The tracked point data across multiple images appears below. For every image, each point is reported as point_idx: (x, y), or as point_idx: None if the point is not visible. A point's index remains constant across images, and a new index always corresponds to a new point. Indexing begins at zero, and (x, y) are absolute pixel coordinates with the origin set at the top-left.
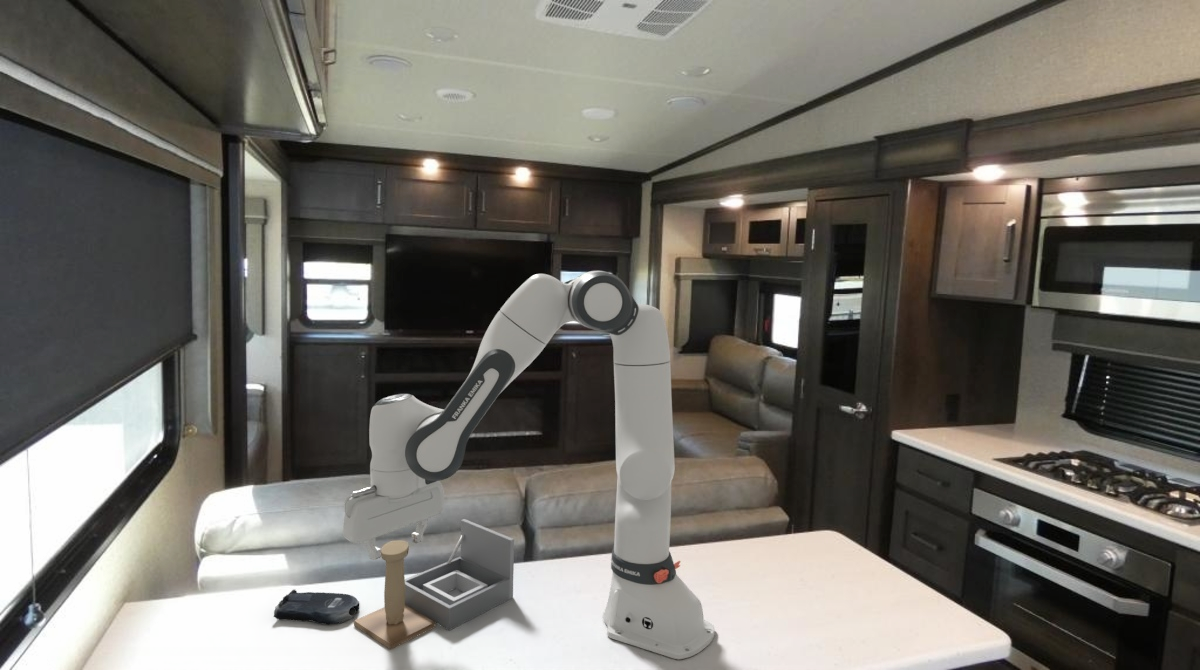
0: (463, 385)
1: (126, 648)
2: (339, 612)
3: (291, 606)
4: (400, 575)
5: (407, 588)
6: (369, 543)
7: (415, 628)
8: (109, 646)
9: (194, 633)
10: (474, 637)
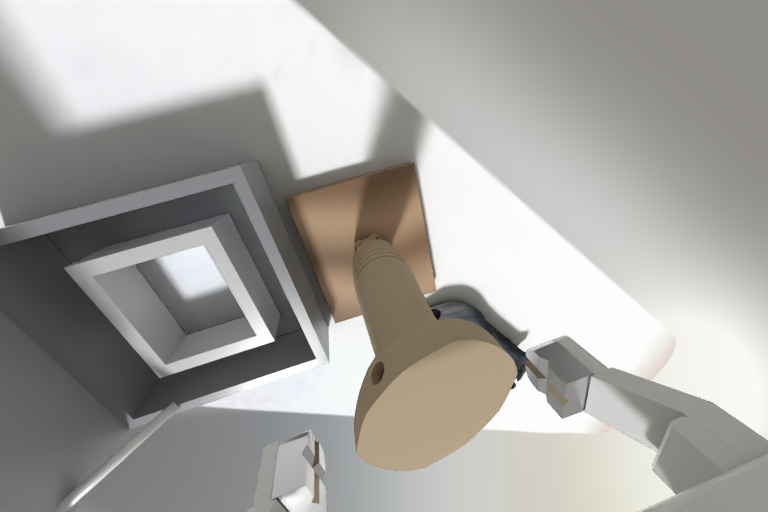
0: None
1: (653, 352)
2: (458, 316)
3: None
4: (391, 296)
5: (318, 334)
6: (722, 412)
7: (340, 197)
8: (659, 362)
9: (597, 355)
10: (193, 79)
